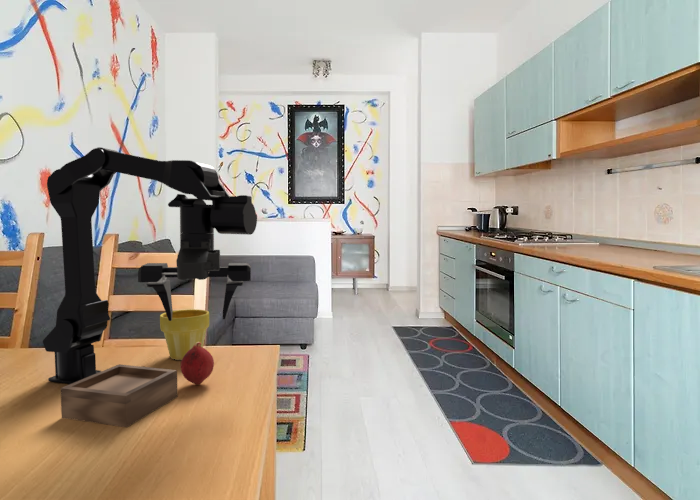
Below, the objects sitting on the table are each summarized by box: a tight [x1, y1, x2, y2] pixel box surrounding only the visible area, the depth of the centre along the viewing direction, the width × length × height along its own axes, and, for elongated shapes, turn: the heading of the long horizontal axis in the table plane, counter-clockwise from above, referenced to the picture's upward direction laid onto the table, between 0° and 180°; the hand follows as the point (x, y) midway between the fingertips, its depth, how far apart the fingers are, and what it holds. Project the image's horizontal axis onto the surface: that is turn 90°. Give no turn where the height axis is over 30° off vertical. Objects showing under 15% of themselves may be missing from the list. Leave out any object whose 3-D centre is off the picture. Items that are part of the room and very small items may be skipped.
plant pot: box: [159, 308, 210, 361], centre depth 102 cm, size 10×10×10 cm
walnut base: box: [60, 363, 178, 428], centre depth 74 cm, size 12×12×5 cm
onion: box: [180, 342, 215, 386], centre depth 84 cm, size 6×6×8 cm
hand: (197, 319), depth 82 cm, fingers open, 9 cm apart
